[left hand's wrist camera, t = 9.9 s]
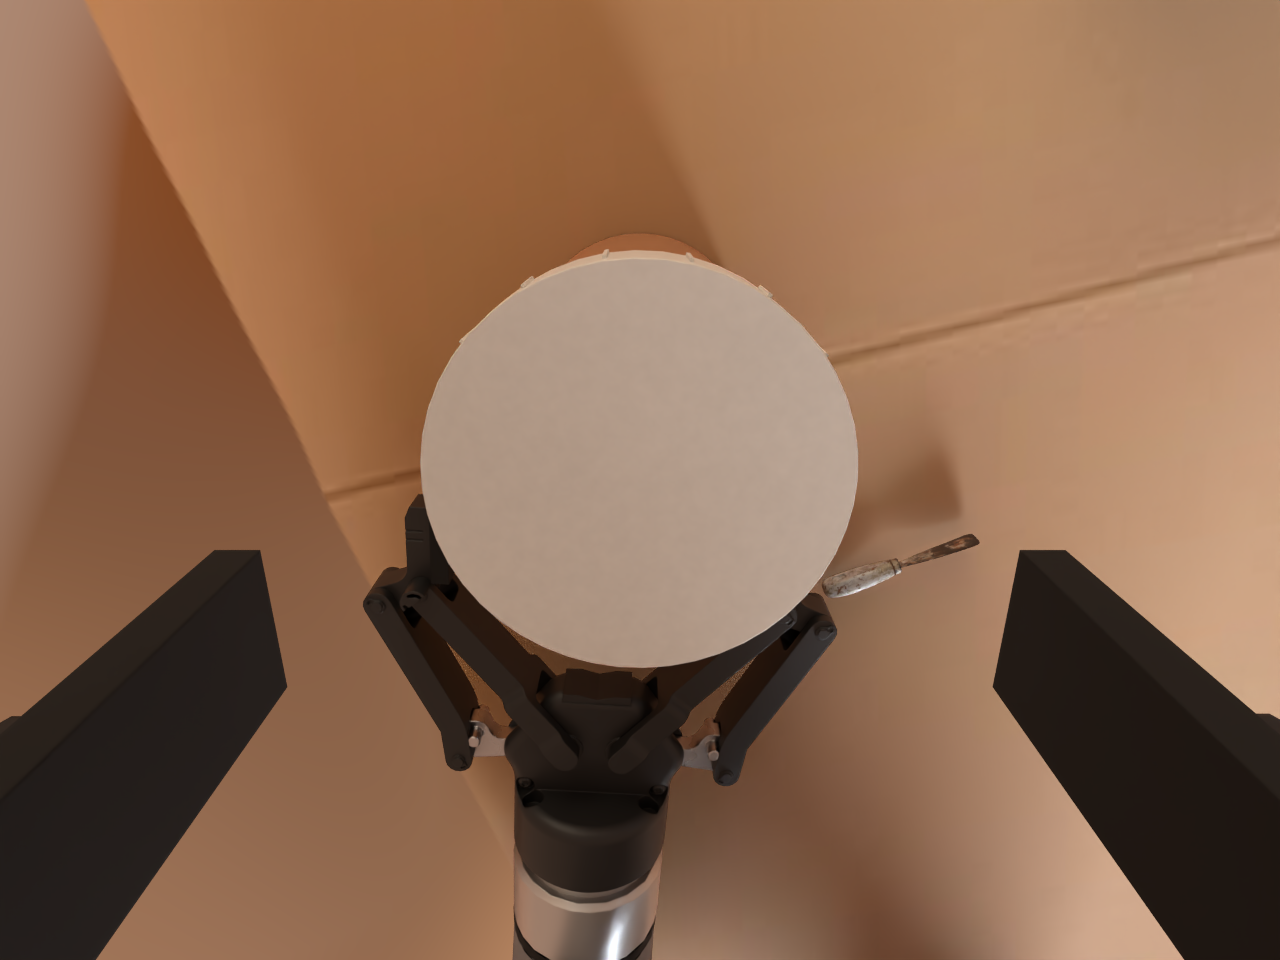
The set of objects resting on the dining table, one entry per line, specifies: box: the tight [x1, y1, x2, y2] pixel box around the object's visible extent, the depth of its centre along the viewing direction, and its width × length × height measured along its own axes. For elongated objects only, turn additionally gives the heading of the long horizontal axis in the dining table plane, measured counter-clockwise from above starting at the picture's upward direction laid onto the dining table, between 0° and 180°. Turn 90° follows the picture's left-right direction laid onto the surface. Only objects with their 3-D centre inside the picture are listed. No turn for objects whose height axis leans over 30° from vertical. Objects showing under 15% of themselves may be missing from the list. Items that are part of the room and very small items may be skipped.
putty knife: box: [822, 534, 980, 598], centre depth 39 cm, size 1×8×2 cm, turn 115°
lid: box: [420, 249, 858, 668], centre depth 20 cm, size 11×11×2 cm
